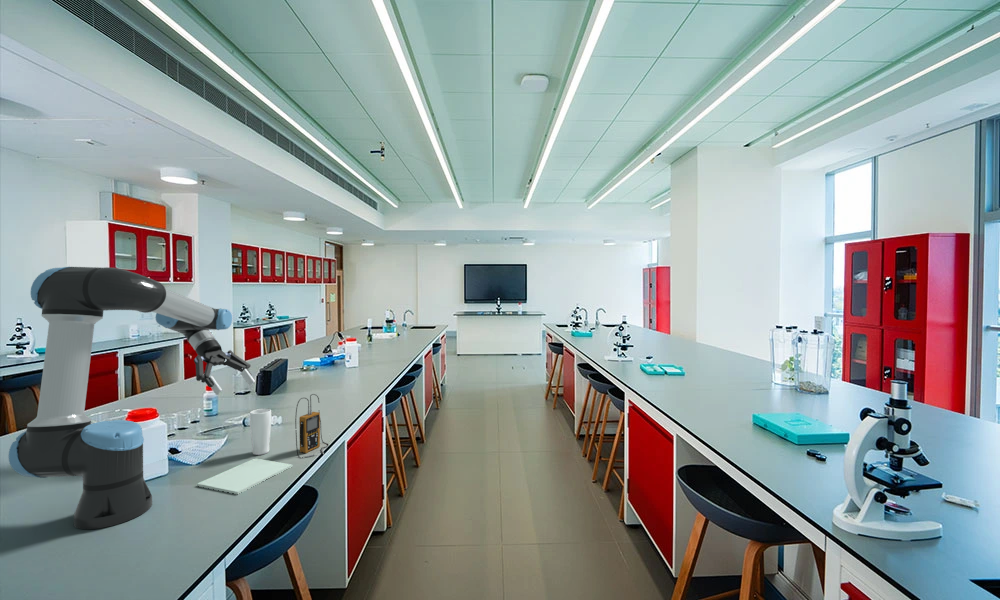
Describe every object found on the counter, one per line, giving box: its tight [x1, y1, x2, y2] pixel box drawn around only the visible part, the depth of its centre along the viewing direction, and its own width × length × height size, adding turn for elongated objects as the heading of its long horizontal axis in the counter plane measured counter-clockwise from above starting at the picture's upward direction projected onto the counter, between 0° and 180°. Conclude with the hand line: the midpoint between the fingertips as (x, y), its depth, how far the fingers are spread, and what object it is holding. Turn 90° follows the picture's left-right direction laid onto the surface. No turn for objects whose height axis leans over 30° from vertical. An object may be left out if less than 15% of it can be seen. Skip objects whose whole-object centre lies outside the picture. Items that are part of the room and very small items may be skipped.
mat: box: [196, 458, 293, 495], centre depth 133 cm, size 20×16×1 cm
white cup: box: [249, 408, 272, 456], centre depth 152 cm, size 7×7×15 cm
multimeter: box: [294, 393, 329, 459], centre depth 154 cm, size 15×10×20 cm
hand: (236, 388), depth 156 cm, fingers open, 13 cm apart
